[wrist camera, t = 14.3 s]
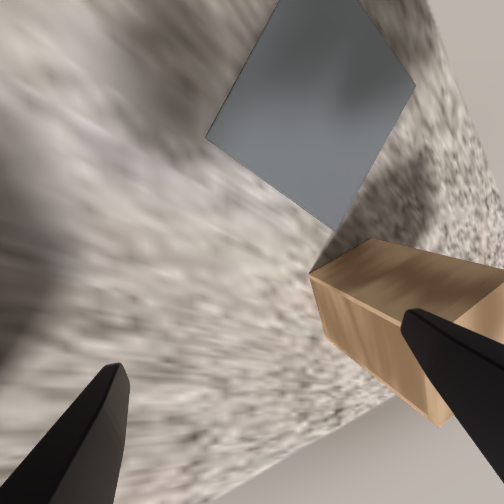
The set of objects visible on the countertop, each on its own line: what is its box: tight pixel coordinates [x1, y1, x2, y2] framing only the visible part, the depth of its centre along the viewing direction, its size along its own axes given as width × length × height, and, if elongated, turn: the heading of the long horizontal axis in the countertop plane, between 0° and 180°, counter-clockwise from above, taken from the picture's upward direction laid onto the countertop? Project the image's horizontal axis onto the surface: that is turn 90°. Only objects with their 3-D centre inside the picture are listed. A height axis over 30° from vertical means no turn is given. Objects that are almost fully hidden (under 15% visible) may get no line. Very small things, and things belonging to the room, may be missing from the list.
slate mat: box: [205, 0, 416, 231], centre depth 19 cm, size 13×12×1 cm
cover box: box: [309, 238, 504, 428], centre depth 20 cm, size 7×7×10 cm
